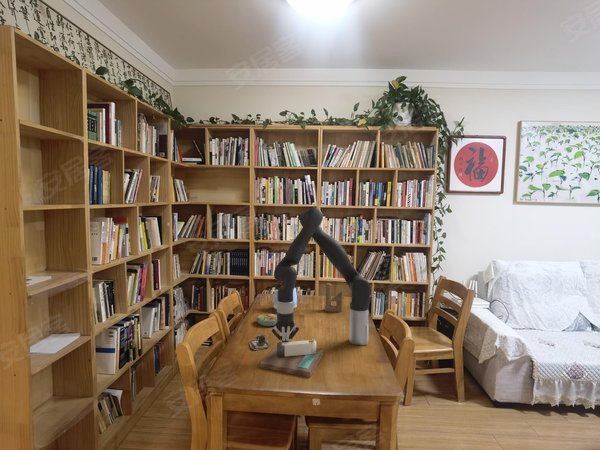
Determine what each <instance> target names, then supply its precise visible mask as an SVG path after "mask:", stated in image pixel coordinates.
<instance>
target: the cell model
mask: <svg viewBox="0 0 600 450" xmlns="http://www.w3.org/2000/svg"><path fill="white" fill-rule="evenodd" d="M256 322H257V324H259V325H261V326H265V327H275V326H276V323H277V314H272V313H265V314H260V315H258V316H256Z"/></svg>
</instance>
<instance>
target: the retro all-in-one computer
mask: <svg viewBox="0 0 600 450" xmlns="http://www.w3.org/2000/svg"><path fill="white" fill-rule="evenodd" d="M274 291H275V292H274V296H273V298H274V299H273V308H274V309H275V310H277V293H278V289H275V290H274ZM293 304H294V309H295V308H297V306H298V297H297V288H296V287H294V290H293Z"/></svg>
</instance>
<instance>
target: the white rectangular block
mask: <svg viewBox="0 0 600 450" xmlns="http://www.w3.org/2000/svg"><path fill="white" fill-rule="evenodd" d="M276 346H277V356H278V357H285V356H296V355H307V354H316V349H317V340H315V338H310V339H308V340H297V341H295V340H294V341H289V342H282V341H279V342H277V343H276Z"/></svg>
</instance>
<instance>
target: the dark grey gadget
mask: <svg viewBox="0 0 600 450" xmlns="http://www.w3.org/2000/svg"><path fill="white" fill-rule="evenodd" d="M249 346H250V348H251V349H252V350H254V351H259V350H260V351H261V350H264V349H267V348H269V347H270V342H269V340H268V339H266V336H265V334H257V335H255V339H253V340H250V341H249Z"/></svg>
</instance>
